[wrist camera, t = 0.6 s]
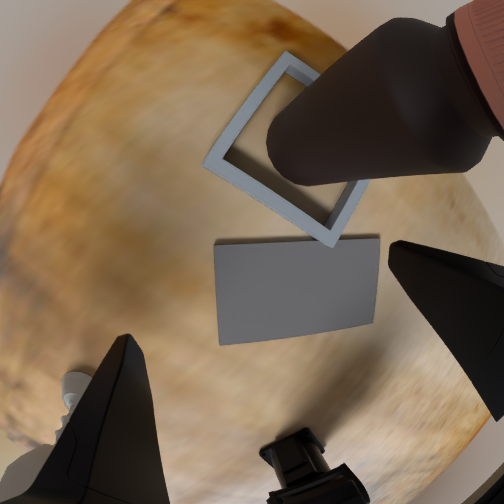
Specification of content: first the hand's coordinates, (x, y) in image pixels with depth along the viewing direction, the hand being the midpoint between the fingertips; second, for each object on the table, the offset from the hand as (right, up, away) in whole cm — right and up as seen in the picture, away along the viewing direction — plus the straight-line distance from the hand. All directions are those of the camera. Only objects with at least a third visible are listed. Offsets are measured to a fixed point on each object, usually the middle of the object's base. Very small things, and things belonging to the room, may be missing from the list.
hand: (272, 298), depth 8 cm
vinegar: (+4, +10, +14) cm, 17 cm away
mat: (+4, -2, +15) cm, 16 cm away
